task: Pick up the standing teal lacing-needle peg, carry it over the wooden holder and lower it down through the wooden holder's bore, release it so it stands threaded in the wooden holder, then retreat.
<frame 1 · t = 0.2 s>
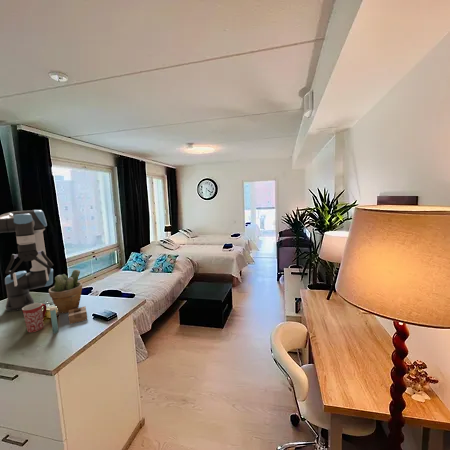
hand: (32, 282, 136), 28 cm above the table, fingers open, 13 cm apart
mug: (38, 327, 145), on the table
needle: (55, 332, 139), on the table
potted plant: (68, 309, 166), on the table
wooden holder: (78, 318, 153), on the table
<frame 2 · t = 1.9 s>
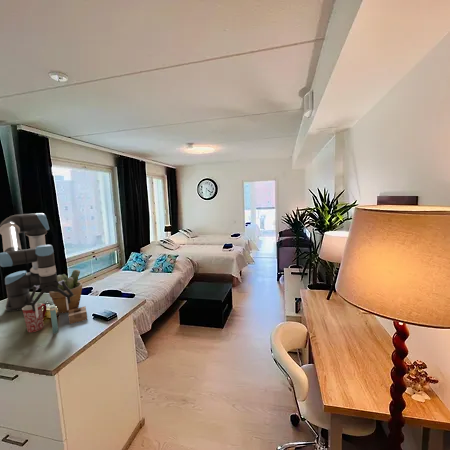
hand: (53, 312, 137), 11 cm above the table, fingers open, 13 cm apart
nothing on the table moved.
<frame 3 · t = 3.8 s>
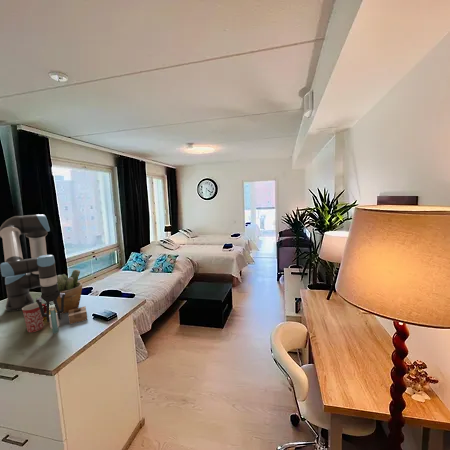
hand: (54, 326, 138), 3 cm above the table, fingers closed on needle, 2 cm apart
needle: (55, 332, 139), on the table, touching gripper
everything else where it was.
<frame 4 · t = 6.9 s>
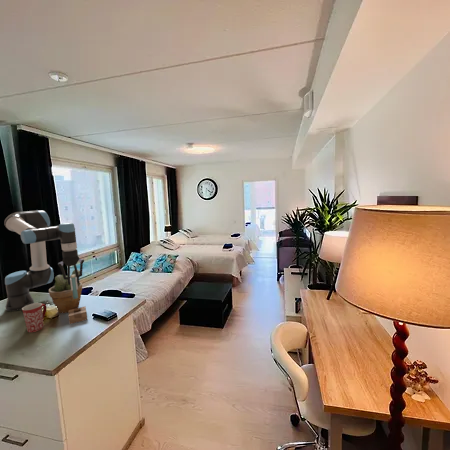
hand: (74, 289, 150), 19 cm above the table, fingers closed on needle, 2 cm apart
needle: (75, 297, 151), point 13 cm above the table, touching gripper
everything else where it was.
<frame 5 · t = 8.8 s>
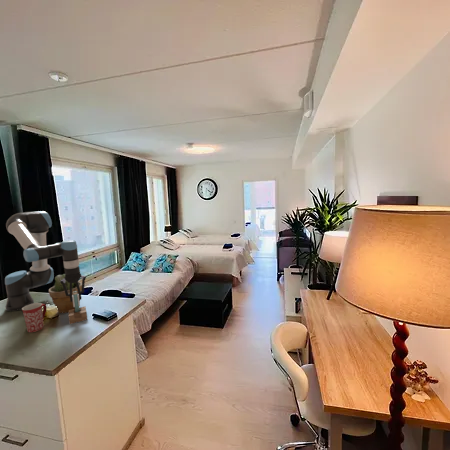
hand: (76, 305, 152), 8 cm above the table, fingers closed on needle, 2 cm apart
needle: (77, 314, 153), point 3 cm above the table, touching gripper
everything else where it was.
when the fingers open (6 cm above the table, at t = 10.3 s): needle drops 1 cm, resting in wooden holder.
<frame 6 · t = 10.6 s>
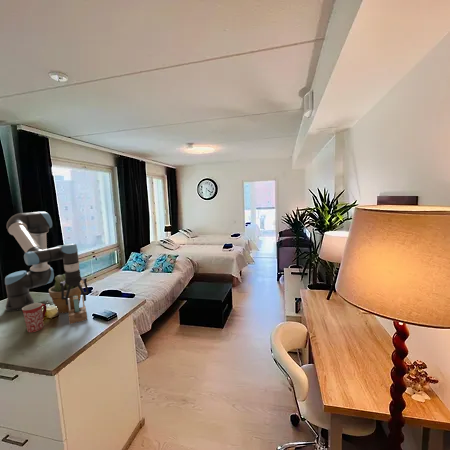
hand: (76, 307, 152), 7 cm above the table, fingers open, 7 cm apart
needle: (78, 318, 153), resting in wooden holder
everything else where it was.
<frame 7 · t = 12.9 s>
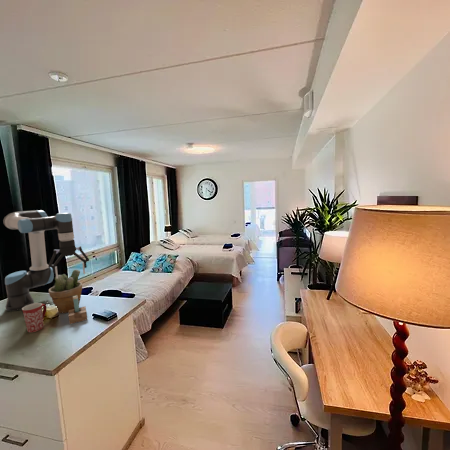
hand: (71, 275, 150), 27 cm above the table, fingers open, 13 cm apart
nothing on the table moved.
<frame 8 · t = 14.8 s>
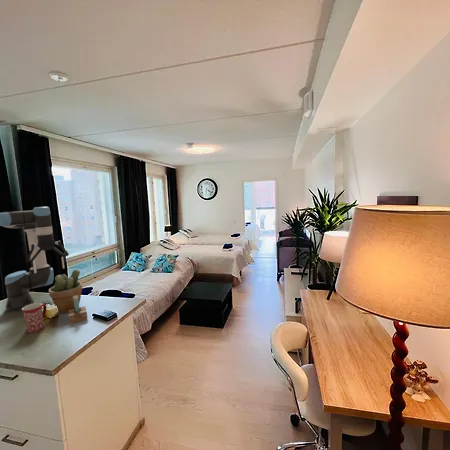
hand: (49, 270, 148), 31 cm above the table, fingers open, 13 cm apart
nothing on the table moved.
at the end: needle 0.0 cm from the wooden holder (horizontally); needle resting in wooden holder; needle tilted 0° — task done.
